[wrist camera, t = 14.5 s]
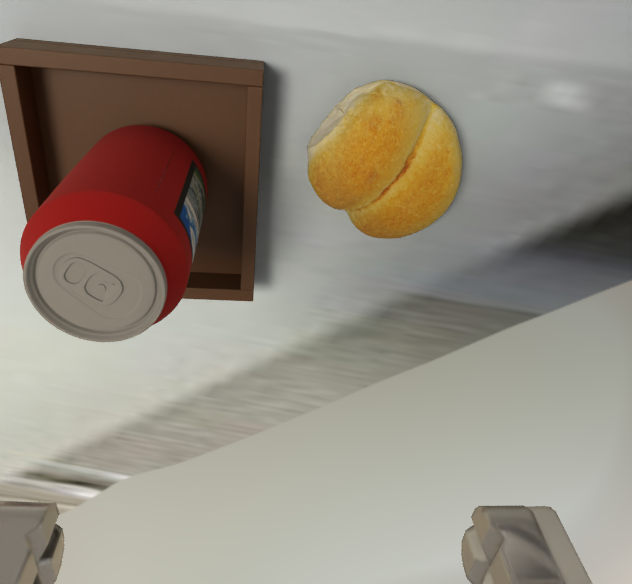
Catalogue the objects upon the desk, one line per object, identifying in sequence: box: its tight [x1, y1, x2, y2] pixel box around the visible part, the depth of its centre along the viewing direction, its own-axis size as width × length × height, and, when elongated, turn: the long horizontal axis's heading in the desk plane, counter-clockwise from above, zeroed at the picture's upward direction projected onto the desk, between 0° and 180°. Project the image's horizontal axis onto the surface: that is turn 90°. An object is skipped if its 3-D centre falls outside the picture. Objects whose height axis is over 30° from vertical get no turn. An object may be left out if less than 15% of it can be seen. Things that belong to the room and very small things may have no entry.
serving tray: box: [0, 38, 264, 301], centre depth 31 cm, size 14×13×3 cm
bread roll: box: [307, 80, 462, 238], centre depth 31 cm, size 8×9×4 cm
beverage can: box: [20, 125, 208, 342], centre depth 26 cm, size 7×7×12 cm
